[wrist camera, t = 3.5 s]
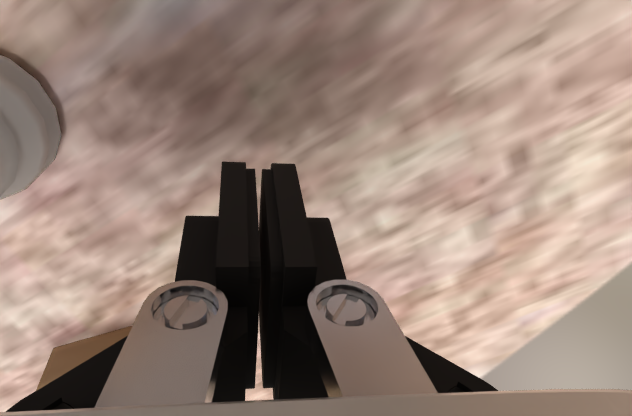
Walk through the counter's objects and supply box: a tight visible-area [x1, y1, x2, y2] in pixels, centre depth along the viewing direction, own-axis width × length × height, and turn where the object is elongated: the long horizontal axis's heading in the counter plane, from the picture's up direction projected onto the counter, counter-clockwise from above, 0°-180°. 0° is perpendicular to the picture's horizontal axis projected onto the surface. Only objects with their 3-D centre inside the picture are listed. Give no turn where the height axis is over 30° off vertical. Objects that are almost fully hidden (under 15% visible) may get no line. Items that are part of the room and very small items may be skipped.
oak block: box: [36, 326, 132, 391], centre depth 20 cm, size 4×4×4 cm
